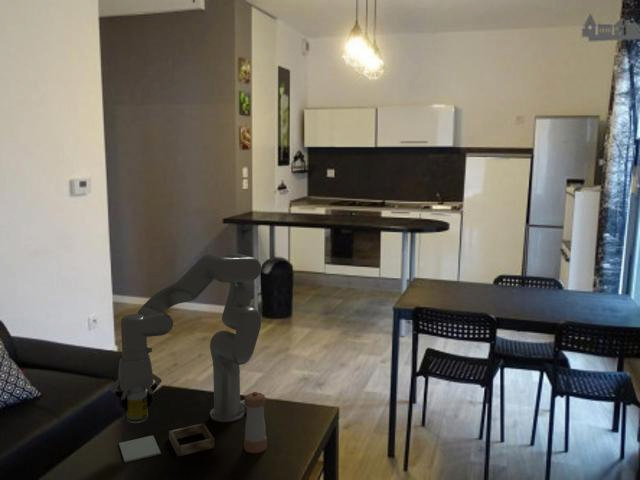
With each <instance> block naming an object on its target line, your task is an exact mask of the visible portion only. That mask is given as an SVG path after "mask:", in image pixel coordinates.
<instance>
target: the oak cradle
mask: <svg viewBox="0 0 640 480" xmlns="http://www.w3.org/2000/svg"><path fill="white" fill-rule="evenodd" d="M200 434H202V435H203V437H204V439H202V440H198V441H194V442H193V441H192V442H189V443H185V444H181V445H180V443H179V441H178V440H179V439H183V438H188V437H191V436H196V435H200ZM168 438H169V442H170V444H171V446H172V448H173V450H174V452H175V454H176V456H177V457H182V456H186V455H190V454H195V453H198V452H202V451H207V450H210V449H214V448H215V447H216V446H215V444H216V443H215V438H214V436H213V434H212V433H211V432H210V430H209V429H208V427H207V425H206V423H204V422H203V423H199V424H193V425H189V426H185V427H180V428H177V429H172V430H169V431H168Z"/></svg>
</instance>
